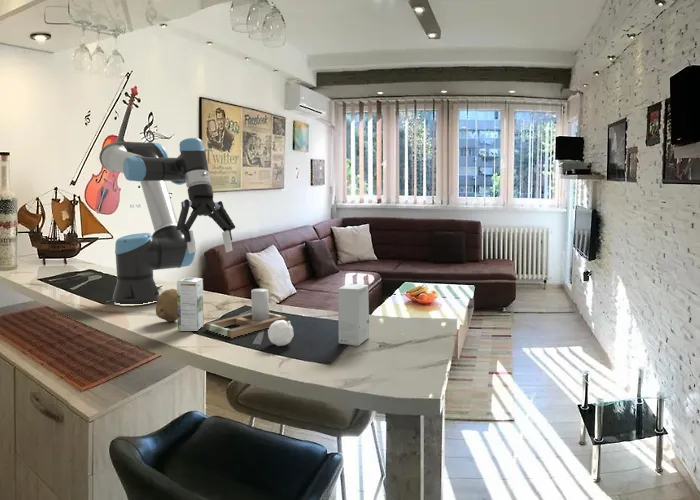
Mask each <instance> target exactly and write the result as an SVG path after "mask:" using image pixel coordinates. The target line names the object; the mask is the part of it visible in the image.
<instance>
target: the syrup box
mask: <svg viewBox="0 0 700 500" xmlns="http://www.w3.org/2000/svg"><path fill="white" fill-rule="evenodd" d="M203 280H204V278H200V277H184V278H181V279H180V280H178V281H176V290H177V311H178V319H177V332H179V331H198V330H199V329H200V328H201V327H202V328H204V326H205V325H204V324H205V323H204V281H203ZM202 328H201V329H202ZM201 329H200V330H201ZM200 330H199V331H200ZM199 331H198V332H199Z"/></svg>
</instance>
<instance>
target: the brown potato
mask: <svg viewBox="0 0 700 500" xmlns="http://www.w3.org/2000/svg"><path fill="white" fill-rule="evenodd" d="M155 305H156V306H155V314H156V316H157V318H159V319H161V320H163V321H166V322H168V323H173V322H172V321H174V322H175V321H178V311H177V288H170V289H166V290H164V291H161V293H160V294H159V298H158V300H157V302H156V304H155Z"/></svg>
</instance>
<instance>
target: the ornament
mask: <svg viewBox="0 0 700 500" xmlns="http://www.w3.org/2000/svg"><path fill="white" fill-rule="evenodd" d="M294 335H295V334H294V327H293V326H292V324H291V320H287V322H286V321H285V320H278V321H275V322H274V323H272V324H271V326H270V327H269V329H267V336H268V339H269V341H270V342H271V343H272V344H274V345H275V346H277V347H280V346H282V347H283V346H286V345H288V344H289V343H290V342H292V339H293V338H294Z"/></svg>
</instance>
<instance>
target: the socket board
mask: <svg viewBox="0 0 700 500" xmlns="http://www.w3.org/2000/svg"><path fill="white" fill-rule="evenodd" d="M278 320H285V321H286V322H288V317H287V316H284V315H280V314H276V313H273V312H272V313H271V312H269V319H268V320H264V321H260V322H257V321H254V320H252V312H247V313H245V314H241V315H235V316H232V317H231V316H230V317H227V318H223V319H220V320H219V319H218V320H215V321H210V322H206V323H204V324H205V325H204V326H205V330H206V329H207V330H209V331H212V332H215V333H214V334H216V333H218V334H217V335H219V334H221V335H220V336H222V335H224V336H223V337H225V336H228V337H231V338H230V339H235V338H234V337H236V338H238V337H237V336H240V335H243V336H245V335H244V334H247V335H249V334H248V333H251V332H254V331H258V330H261V329H265V328H269V327H270V326H271V324H272V323H274V322H275V321H278ZM232 324H238V325H242V326H237V327H233V328H229V327H227V328H224V327H225V326H228V325H232ZM265 330H266V329H265ZM209 331H208V332H209ZM212 332H211V333H212ZM258 332H259V331H258ZM254 333H255V332H254ZM251 334H252V333H251ZM228 337H227V338H228ZM240 337H241V336H240Z"/></svg>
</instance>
